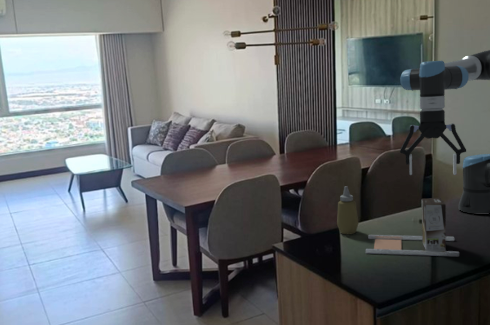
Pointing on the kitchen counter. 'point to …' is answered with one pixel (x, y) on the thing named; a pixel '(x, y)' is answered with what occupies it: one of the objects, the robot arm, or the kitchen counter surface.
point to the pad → (387, 244)
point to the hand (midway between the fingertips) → (432, 174)
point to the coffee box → (434, 224)
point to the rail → (408, 252)
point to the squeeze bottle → (347, 213)
